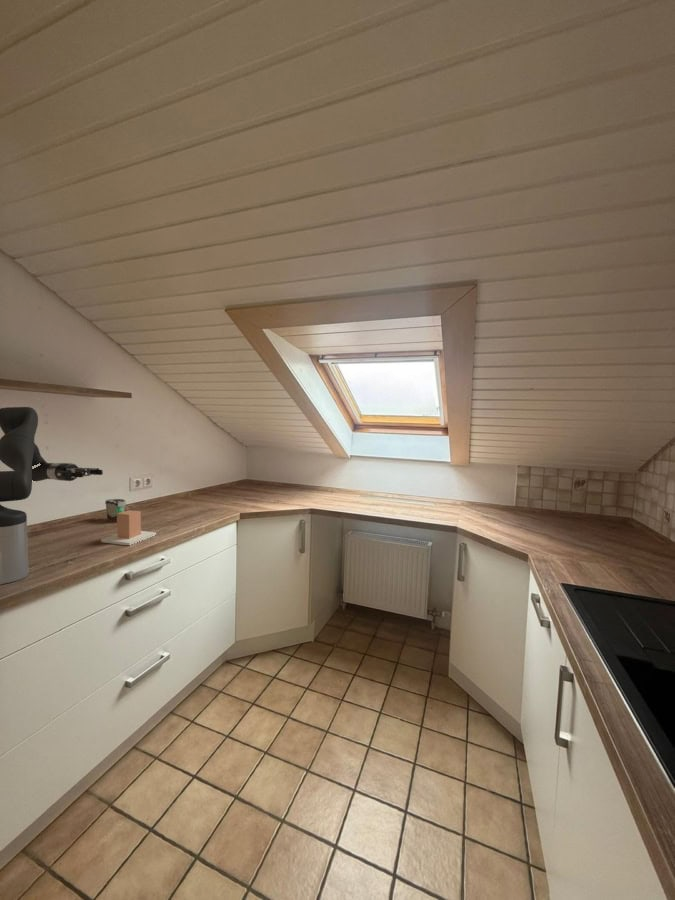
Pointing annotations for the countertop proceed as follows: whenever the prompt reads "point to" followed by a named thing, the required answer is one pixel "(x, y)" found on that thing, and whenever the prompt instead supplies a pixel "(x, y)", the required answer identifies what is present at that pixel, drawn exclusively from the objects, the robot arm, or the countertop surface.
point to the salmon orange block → (128, 524)
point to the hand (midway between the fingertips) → (92, 473)
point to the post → (125, 541)
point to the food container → (114, 508)
